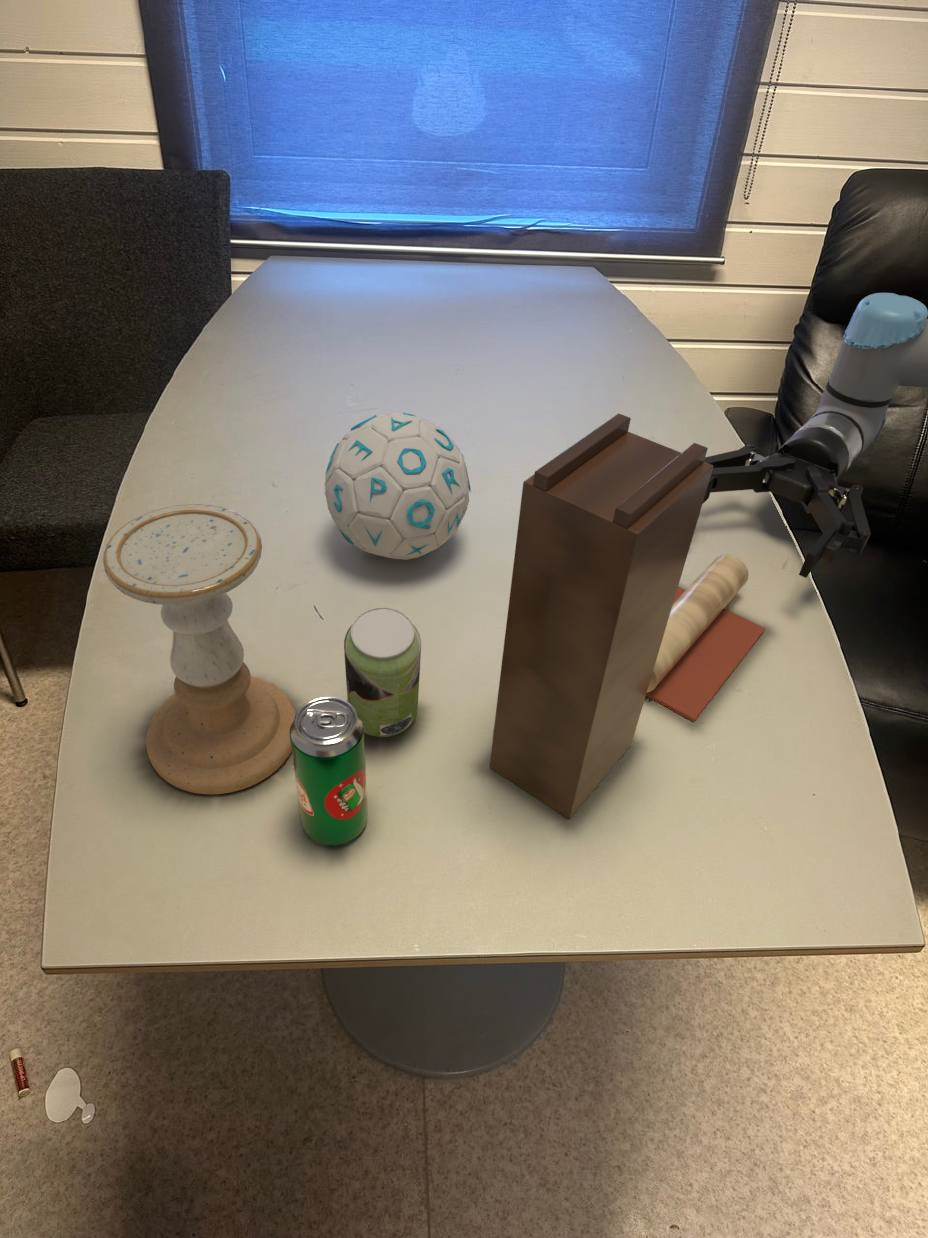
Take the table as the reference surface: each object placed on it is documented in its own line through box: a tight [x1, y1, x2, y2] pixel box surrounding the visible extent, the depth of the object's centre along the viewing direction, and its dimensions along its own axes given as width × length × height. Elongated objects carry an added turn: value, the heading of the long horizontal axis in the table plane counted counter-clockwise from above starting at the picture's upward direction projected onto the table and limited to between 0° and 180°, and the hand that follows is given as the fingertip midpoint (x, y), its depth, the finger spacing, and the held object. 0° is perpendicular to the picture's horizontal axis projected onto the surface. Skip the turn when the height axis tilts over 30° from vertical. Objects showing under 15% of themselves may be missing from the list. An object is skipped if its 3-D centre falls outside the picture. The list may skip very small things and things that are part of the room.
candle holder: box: [102, 503, 297, 795], centre depth 63 cm, size 12×12×20 cm
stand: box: [489, 413, 713, 820], centre depth 60 cm, size 8×10×29 cm
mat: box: [646, 586, 766, 723], centre depth 81 cm, size 12×16×1 cm
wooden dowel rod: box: [647, 554, 749, 692], centre depth 81 cm, size 20×4×4 cm, turn 142°
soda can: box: [290, 696, 369, 846], centre depth 60 cm, size 5×5×12 cm
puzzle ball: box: [324, 412, 472, 561], centre depth 86 cm, size 15×15×15 cm
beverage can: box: [343, 606, 422, 738], centre depth 68 cm, size 6×7×12 cm
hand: (741, 538), depth 84 cm, fingers open, 13 cm apart
